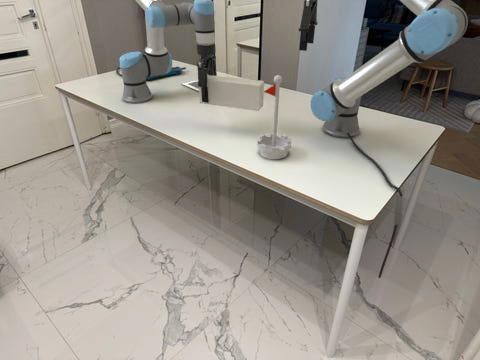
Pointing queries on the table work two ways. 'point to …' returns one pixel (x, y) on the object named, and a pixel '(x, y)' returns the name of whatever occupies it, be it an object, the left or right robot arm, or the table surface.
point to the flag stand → (274, 131)
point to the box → (234, 92)
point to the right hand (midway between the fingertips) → (306, 46)
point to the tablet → (192, 85)
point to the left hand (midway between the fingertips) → (208, 99)
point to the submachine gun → (173, 71)
